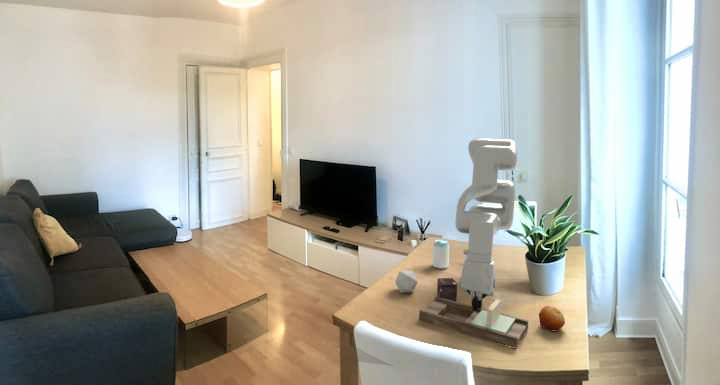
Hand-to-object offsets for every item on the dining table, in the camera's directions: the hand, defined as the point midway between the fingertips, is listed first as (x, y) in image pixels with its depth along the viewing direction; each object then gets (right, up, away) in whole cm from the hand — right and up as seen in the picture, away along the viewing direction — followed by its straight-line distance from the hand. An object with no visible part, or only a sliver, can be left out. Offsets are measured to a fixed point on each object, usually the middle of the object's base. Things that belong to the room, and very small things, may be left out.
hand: (476, 309), depth 145 cm
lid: (+5, -4, -3) cm, 6 cm away
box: (-6, -2, +21) cm, 22 cm away
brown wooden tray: (-1, -6, +2) cm, 6 cm away
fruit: (+25, -6, 0) cm, 25 cm away
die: (-20, 0, +28) cm, 35 cm away
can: (-2, +5, +55) cm, 56 cm away
